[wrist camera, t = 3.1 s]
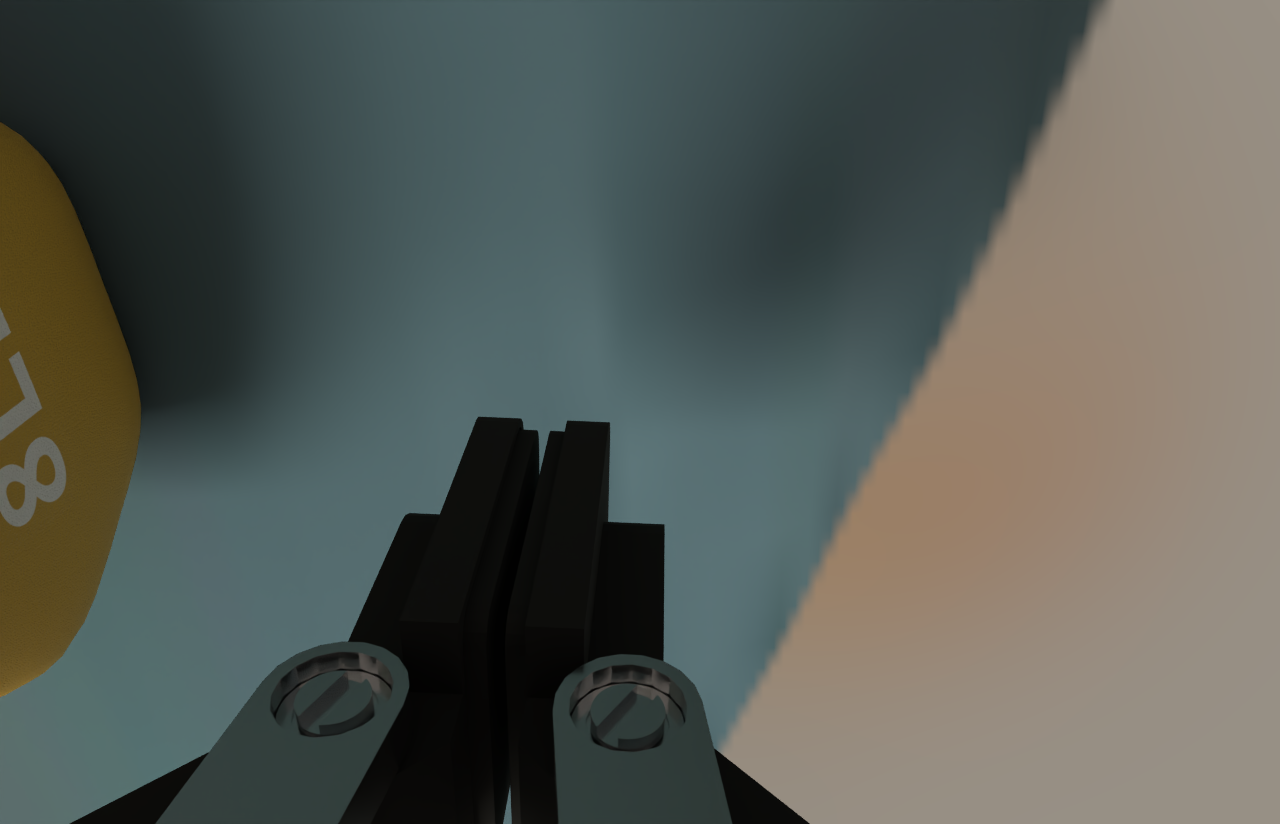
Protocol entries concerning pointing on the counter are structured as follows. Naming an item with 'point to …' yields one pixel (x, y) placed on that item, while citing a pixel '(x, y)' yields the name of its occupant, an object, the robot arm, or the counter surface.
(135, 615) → the counter surface
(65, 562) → the dumbbell
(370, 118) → the counter surface
